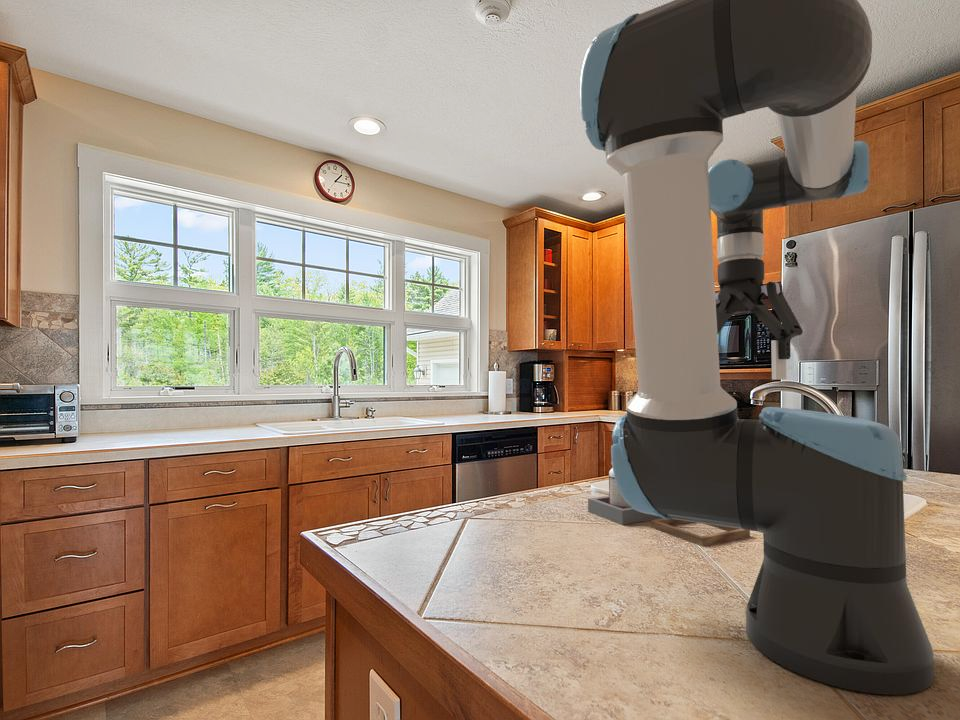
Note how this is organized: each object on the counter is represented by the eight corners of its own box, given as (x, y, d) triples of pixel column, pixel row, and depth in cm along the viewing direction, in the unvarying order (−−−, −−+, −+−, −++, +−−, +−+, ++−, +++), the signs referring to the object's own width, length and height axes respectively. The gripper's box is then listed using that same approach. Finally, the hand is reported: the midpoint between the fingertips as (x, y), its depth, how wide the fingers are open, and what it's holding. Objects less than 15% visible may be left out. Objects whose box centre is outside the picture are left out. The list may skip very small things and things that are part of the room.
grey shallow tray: (622, 524, 93) (622, 510, 93) (588, 511, 102) (588, 498, 102) (702, 511, 102) (701, 498, 102) (663, 500, 111) (663, 488, 111)
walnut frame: (702, 545, 81) (702, 538, 81) (650, 527, 91) (650, 520, 91) (749, 536, 86) (749, 529, 86) (696, 519, 96) (696, 513, 96)
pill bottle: (621, 509, 104) (621, 452, 104) (648, 515, 99) (648, 456, 100) (602, 514, 100) (602, 455, 100) (630, 521, 95) (629, 459, 96)
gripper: (825, 248, 84) (828, 379, 83) (697, 275, 106) (698, 379, 105) (797, 242, 80) (799, 379, 79) (670, 271, 102) (672, 379, 102)
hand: (742, 379), depth 92 cm, fingers open, 13 cm apart
